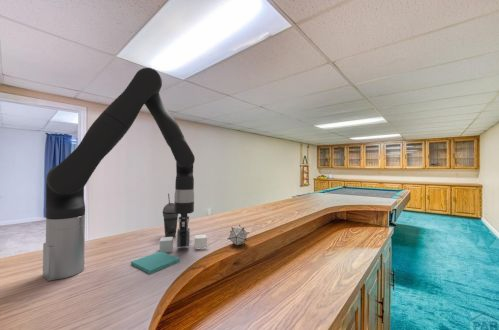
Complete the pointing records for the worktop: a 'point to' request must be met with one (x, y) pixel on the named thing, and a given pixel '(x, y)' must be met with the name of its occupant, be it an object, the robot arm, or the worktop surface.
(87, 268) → the worktop surface
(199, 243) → the offwhite block
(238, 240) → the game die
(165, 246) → the grey block
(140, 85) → the robot arm
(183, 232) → the charcoal block
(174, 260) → the teal mat
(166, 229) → the beverage cup
